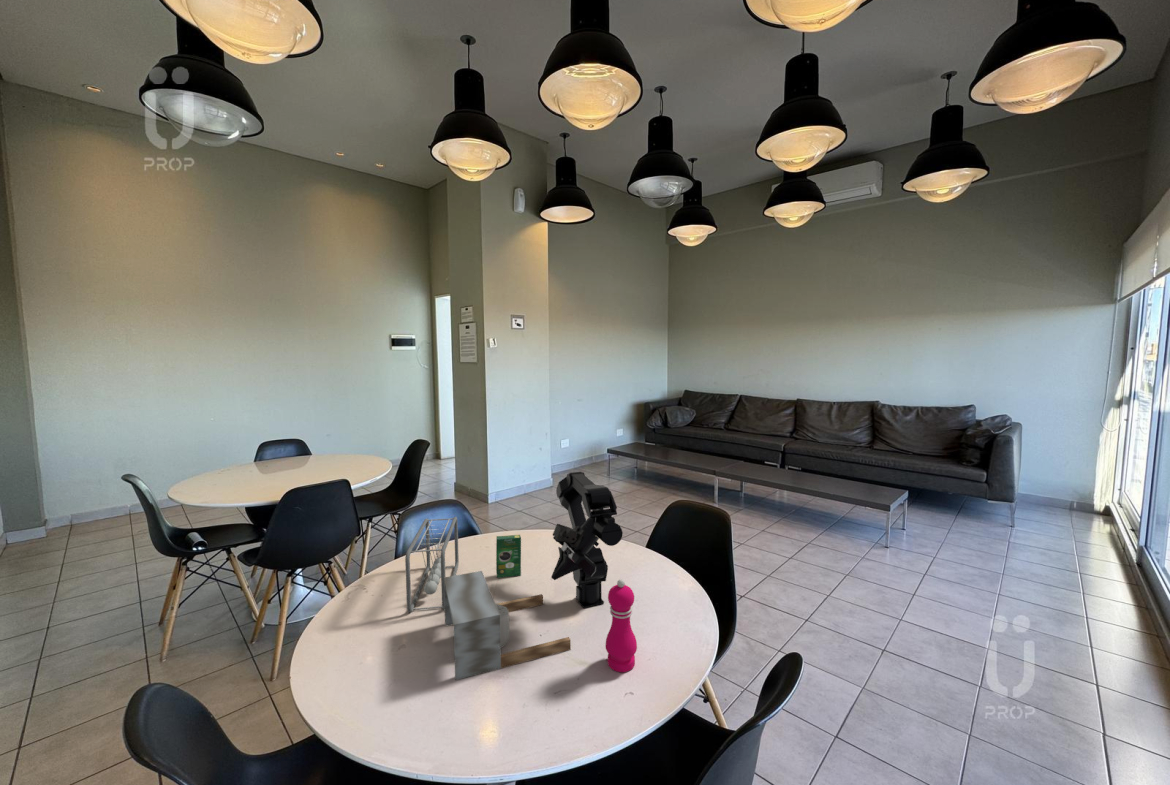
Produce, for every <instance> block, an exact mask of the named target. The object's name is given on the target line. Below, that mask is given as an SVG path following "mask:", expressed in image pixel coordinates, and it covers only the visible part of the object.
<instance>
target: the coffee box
mask: <svg viewBox="0 0 1170 785" xmlns="http://www.w3.org/2000/svg"><path fill="white" fill-rule="evenodd" d="M495 546H496V547H495V548H496V549H495V552H496V553H495V554H496V555H495V556H496V559H495V561H496V563H495V564H496V565H495V570H496V572H495V573H496V578H497V579H499V578H510V577H518V576H519V577H521V576H522V566H521V565H522V537H521V534H512V535H498V536H497V535H496V545H495Z"/></svg>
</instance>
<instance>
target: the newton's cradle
mask: <svg viewBox="0 0 1170 785" xmlns="http://www.w3.org/2000/svg"><path fill="white" fill-rule="evenodd" d="M450 520H452V521H451V523H450V526H449V528H448V531H447V534H446V536H445V533H446V529H447V527H448V525H449V522H450ZM434 521H447V522H446V524H444V525H445V526H444V528H443V532H440V533H437V535H439V534H441V537H439V538H437V537H435V538H434V533H433V531H434V530H435V531H436V530H438V528H435V529H432V526H433V527H434V524H432V522H434ZM431 524H432V525H431ZM458 524H459V523H458V517H457V516H454V517H452V518H436V519H435V518H434V519H428V518H427V517H426V518H424V520H423V521H422V523H421V525H420V527H419V529H418V530H417V532H416V535H415V536H414V538H413V539H412V541H411V543H410V545H409V547H408V548H407V550H406V552H405V559H404V560H405V561H404V563H405V564H404V565H405V586H406V588H405V589H406V590H405V591H406V592H405V593H406V610H407V613H409V614H410V613H412V612H413V611H417V610H430V609H432V610H433V609H440V608H441V609H443V610H444V611H445V603H444V578H445V577H446V569H453V571H452V575H451V576H456V575H457V572H458V568H459V559H460V558H459V532H458V531H459V529H458V528H459V526H458ZM424 529H425V532H424V533H423V531H424ZM430 531H431V534H430ZM453 531H454V560H455V561H454V566H446V550H447V547H448V544H449V541H450V539H451V535H452V534H453ZM422 533H423V535H422V537H421V534H422ZM430 535H431V536H432V538H431V536H430ZM444 536H445V537H444ZM420 537H421V539H420V541H419V543H418V544H417V546H416V549H415V550H413V549H414V547H415V545H416V543H417V542H418V540H419V538H420ZM435 539H439V542H437V543H436V542H435ZM432 540H433V543H432ZM422 542H423V543H422ZM433 544H434V547H435V549H434V548H433ZM436 544H437V547H436ZM422 545H423V546H424V549H423V547H422ZM430 545H431V546H430ZM419 547H420V548H421V549H420V550H418V549H419ZM440 547H441V548H440ZM424 552H425V553H426V561H425V557H424ZM431 552H432V553H433V557H434V561H433V557H432V555H431ZM435 552H436V553H435ZM411 553H422V558H423V562H424V565H425V566H424V567H425V570H424V573H423V575H422V577H421V578H420V582H419V584H418V586H417V589H416V592H415V594H414V596H413V598H412V589H411V588H412V587H411V586H412V585H411V562H410V560H411V558H410V557H411ZM439 553H440V554H439ZM431 563H432V566H431ZM426 578H427V579H426ZM425 581H426V583H425ZM440 581H441V582H440ZM424 583H425V584H424ZM439 583H441V584H440V586H441V606H429V607H428V606H427V607H417V608H415V606H416V603H417V601H418V598H419V596H420V594H421V591H422V588H423V591H424V593H425V594H426V595H431V596H432V595H433V594H435V593H436V591H437V590H438V586H439ZM423 586H424V587H423Z"/></svg>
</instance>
